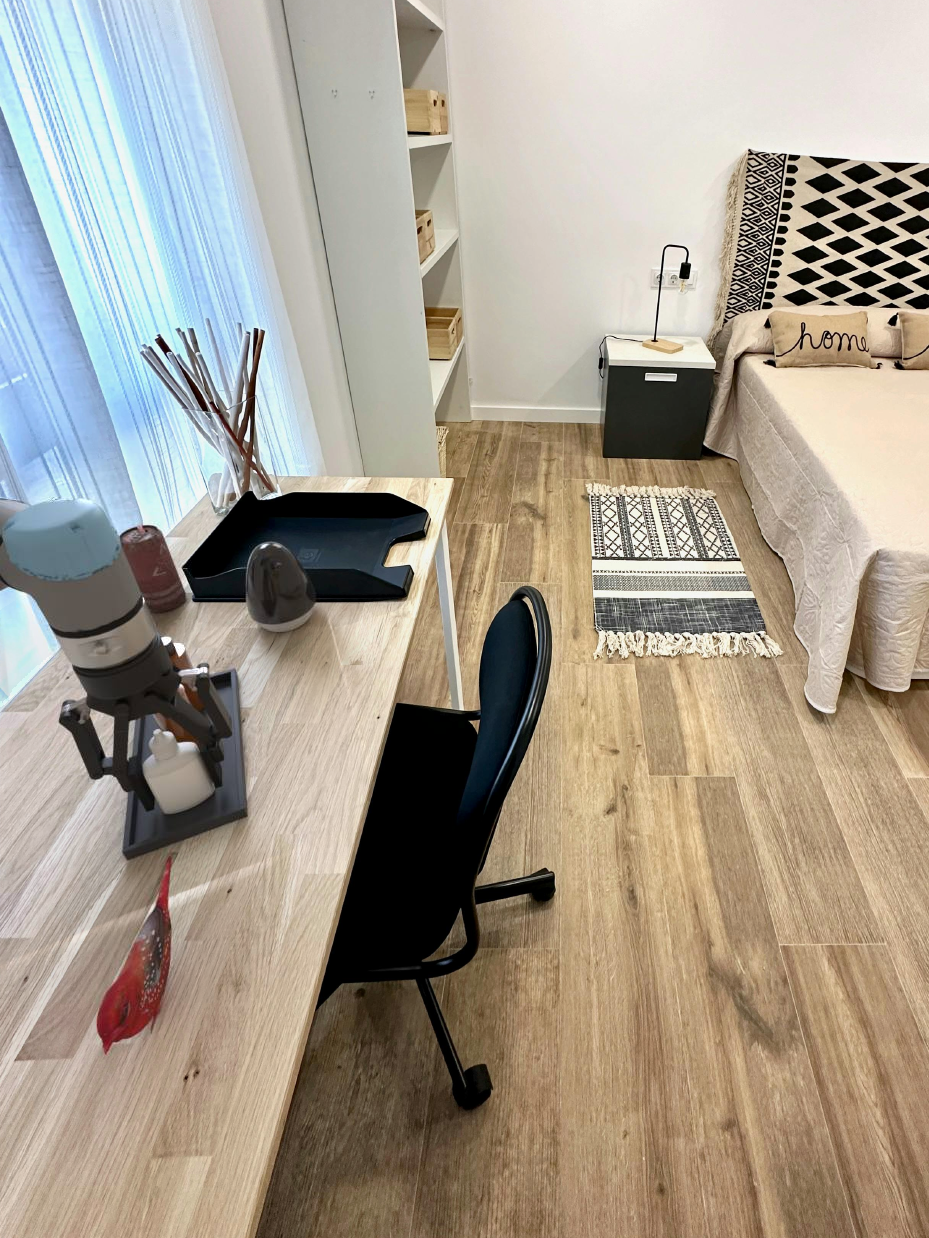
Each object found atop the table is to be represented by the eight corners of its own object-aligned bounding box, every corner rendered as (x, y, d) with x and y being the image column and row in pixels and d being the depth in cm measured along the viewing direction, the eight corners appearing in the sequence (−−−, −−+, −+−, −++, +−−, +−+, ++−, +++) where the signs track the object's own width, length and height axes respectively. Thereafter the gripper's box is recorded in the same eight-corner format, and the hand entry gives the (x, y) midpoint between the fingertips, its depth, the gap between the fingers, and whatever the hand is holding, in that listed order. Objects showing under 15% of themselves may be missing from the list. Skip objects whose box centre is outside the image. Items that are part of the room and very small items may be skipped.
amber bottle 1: (174, 700, 89) (146, 636, 83) (206, 691, 91) (180, 627, 84) (174, 720, 86) (144, 656, 80) (206, 711, 88) (180, 646, 81)
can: (181, 585, 112) (155, 518, 104) (190, 604, 108) (163, 535, 100) (142, 599, 109) (112, 530, 101) (149, 618, 104) (119, 548, 97)
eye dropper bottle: (207, 812, 75) (175, 745, 69) (156, 816, 74) (120, 749, 68) (220, 780, 79) (191, 714, 72) (172, 784, 78) (138, 717, 72)
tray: (143, 705, 89) (138, 694, 88) (238, 677, 94) (234, 667, 93) (128, 863, 70) (121, 852, 69) (249, 819, 75) (244, 808, 74)
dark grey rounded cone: (265, 651, 99) (240, 573, 91) (246, 617, 105) (221, 541, 97) (330, 625, 104) (312, 548, 96) (307, 593, 111) (289, 520, 103)
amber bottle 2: (173, 742, 83) (142, 677, 77) (207, 732, 85) (179, 667, 78) (172, 766, 80) (139, 700, 74) (207, 754, 82) (178, 688, 75)
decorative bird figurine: (120, 1097, 54) (73, 1049, 48) (173, 890, 68) (141, 836, 63) (158, 1086, 54) (116, 1037, 49) (202, 883, 69) (173, 829, 63)
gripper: (-17, 704, 57) (84, 851, 69) (224, 640, 64) (276, 783, 77) (2, 651, 62) (92, 795, 75) (222, 598, 70) (270, 737, 82)
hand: (185, 789), depth 76 cm, fingers open, 6 cm apart
